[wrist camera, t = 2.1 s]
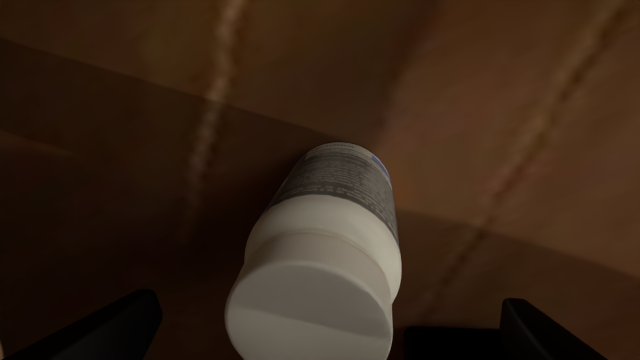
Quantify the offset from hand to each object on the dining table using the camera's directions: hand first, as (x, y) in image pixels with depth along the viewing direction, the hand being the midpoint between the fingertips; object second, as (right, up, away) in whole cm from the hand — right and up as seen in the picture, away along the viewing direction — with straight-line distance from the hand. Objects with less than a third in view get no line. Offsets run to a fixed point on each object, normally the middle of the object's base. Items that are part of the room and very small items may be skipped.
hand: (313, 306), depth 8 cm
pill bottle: (+1, +3, +7) cm, 8 cm away
